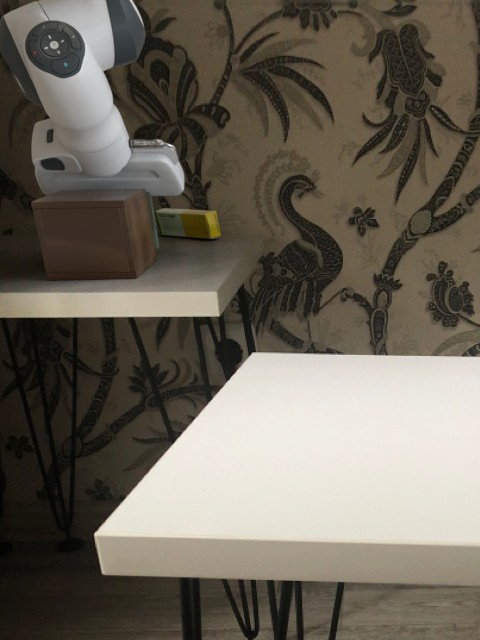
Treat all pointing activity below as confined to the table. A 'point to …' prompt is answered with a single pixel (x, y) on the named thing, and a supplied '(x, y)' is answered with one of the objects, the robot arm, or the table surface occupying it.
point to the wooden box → (95, 234)
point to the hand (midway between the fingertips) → (125, 208)
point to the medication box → (188, 223)
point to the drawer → (152, 220)
